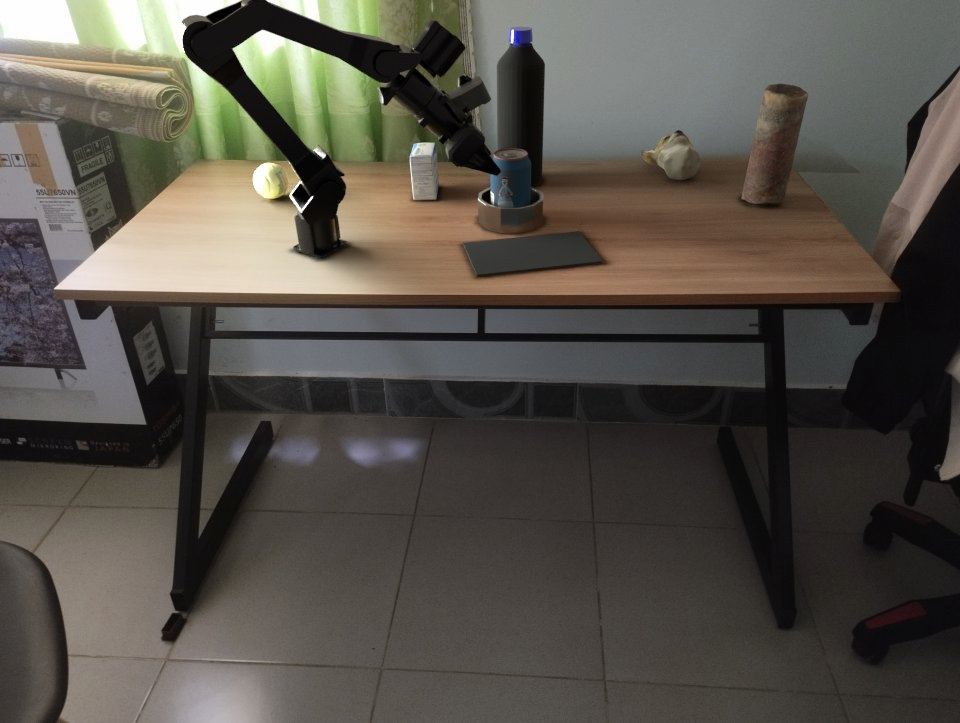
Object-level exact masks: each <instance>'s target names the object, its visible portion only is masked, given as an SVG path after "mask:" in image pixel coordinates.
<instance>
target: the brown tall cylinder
mask: <svg viewBox="0 0 960 723" xmlns="http://www.w3.org/2000/svg"><path fill="white" fill-rule="evenodd" d="M808 98H809V92H807V91H806V90H804V89H803V88H802V87H800V86H797V85H794V84H788V83H787V84H786V83H774V84H769V85H767V86H765V88H764V89H763V92H762V98H761V103H760V107H759V112H758V117H757V121H756V126H755V131H754V136H753V142H752V145H751V151H750V156H749V160H748V165H747V169H746V173H745V179H744V182H743V187H742V193H741V198H740V199H741V200H742V201H746V202H748V203H749V204H751V205H764V206H776V205H779V204H780V203H782V202H783V201H784V200H785V198H786V194H787V190H788V185H789V182H790V177H791V172H792V168H793V163H794V159H795V154H796V150H797V145H798V141H799V137H800V131H801V128H802V123H803V120H804V116H805V110H806V106H807V102H808Z"/></svg>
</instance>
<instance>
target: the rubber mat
mask: <svg viewBox="0 0 960 723" xmlns="http://www.w3.org/2000/svg"><path fill="white" fill-rule="evenodd" d="M462 245H463V248H464V250H465V253H466V255H467V257H468V260H469V262H470V264H471V266H472V269H473V271H474V273H475V275H476V277H477V278H480V277H490V276H499V275H510V274H516V273H517V274H518V273H526V272H527V273H528V272H535V271H545V270H555V269H564V268H570V267H571V268H572V267H580V266H590V265H600V264H603V260H602V258H601V257H600V256H599V255H598V253H597V252H596V251H595V249H594V248H593V247H592V246H591V244H590V243H589V241H588V240H587V239H586V238H585V237H584V235H583V234H582V233H581V231H580V230H575V231H565V232H557V233H547V234H538V235H536V234H535V235H526V236H516V237H508V238H498V239H488V240H479V241H468V242H463V243H462Z"/></svg>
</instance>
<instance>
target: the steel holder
mask: <svg viewBox="0 0 960 723" xmlns="http://www.w3.org/2000/svg"><path fill="white" fill-rule="evenodd" d="M543 217H544V193H543V192H542V191H540V190H538V188H535V187H534V186H533V187H531V205H526V206H521V207H499V206H495V205H491V186H489V187H487V188H485V189H483V190H482V191H480V192H478V197H477V218H478V224H479V225H480V226H481V227H482V228H483V229H484V230H487V231H490V232H494V233H499V234H521V233H526V232H531V231H534V230H536V229H538V228H539V227H540V226H541V225H542V226H543V223H544V219H543Z"/></svg>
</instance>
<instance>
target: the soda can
mask: <svg viewBox="0 0 960 723" xmlns="http://www.w3.org/2000/svg"><path fill="white" fill-rule="evenodd" d="M492 159H493V160H494V162H495V163H496V164H497V166H498V167H499V168H500V170H501V173H500V174H499V175H498V176H495V175H492V174H490V187H491V205H495V206H499V207H521V206H526V205H531V161H530V159H529V157H528V152H527V151H525V150H523V149H518V148H505V149H500V150H497V149H496V150H495V151H494V152H493V157H492Z"/></svg>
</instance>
